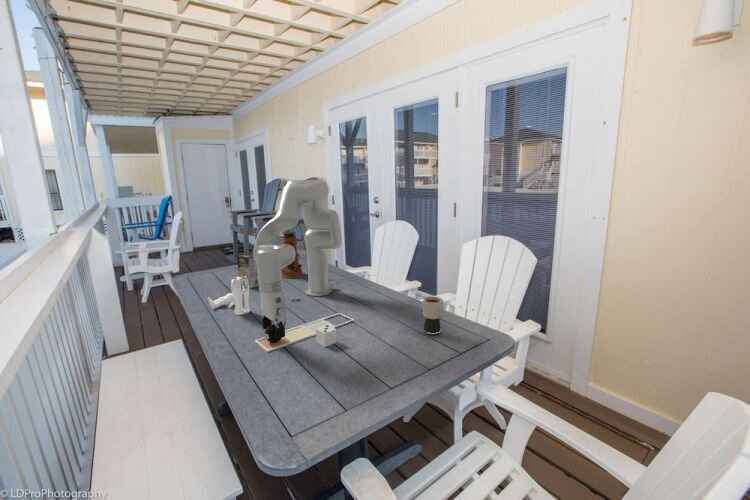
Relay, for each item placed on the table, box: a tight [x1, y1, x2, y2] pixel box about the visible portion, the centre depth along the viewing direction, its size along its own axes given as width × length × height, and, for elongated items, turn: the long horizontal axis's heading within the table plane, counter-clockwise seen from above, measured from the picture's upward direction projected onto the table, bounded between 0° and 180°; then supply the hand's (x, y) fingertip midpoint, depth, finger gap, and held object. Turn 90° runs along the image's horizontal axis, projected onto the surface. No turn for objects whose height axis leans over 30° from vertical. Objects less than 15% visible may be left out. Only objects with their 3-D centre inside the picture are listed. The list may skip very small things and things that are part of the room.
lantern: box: [281, 229, 304, 279], centre depth 196 cm, size 17×13×30 cm
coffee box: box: [236, 253, 259, 289], centre depth 179 cm, size 9×6×16 cm
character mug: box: [421, 295, 446, 333], centre depth 126 cm, size 11×7×13 cm, turn 37°
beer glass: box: [230, 275, 251, 316], centre depth 144 cm, size 7×7×15 cm
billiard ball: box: [264, 323, 281, 343], centre depth 119 cm, size 6×6×6 cm
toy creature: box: [207, 292, 235, 310], centre depth 153 cm, size 12×6×12 cm
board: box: [254, 312, 355, 353], centre depth 128 cm, size 37×10×1 cm, turn 132°
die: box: [315, 325, 337, 348], centre depth 119 cm, size 5×5×5 cm
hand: (273, 332), depth 119 cm, fingers open, 9 cm apart
